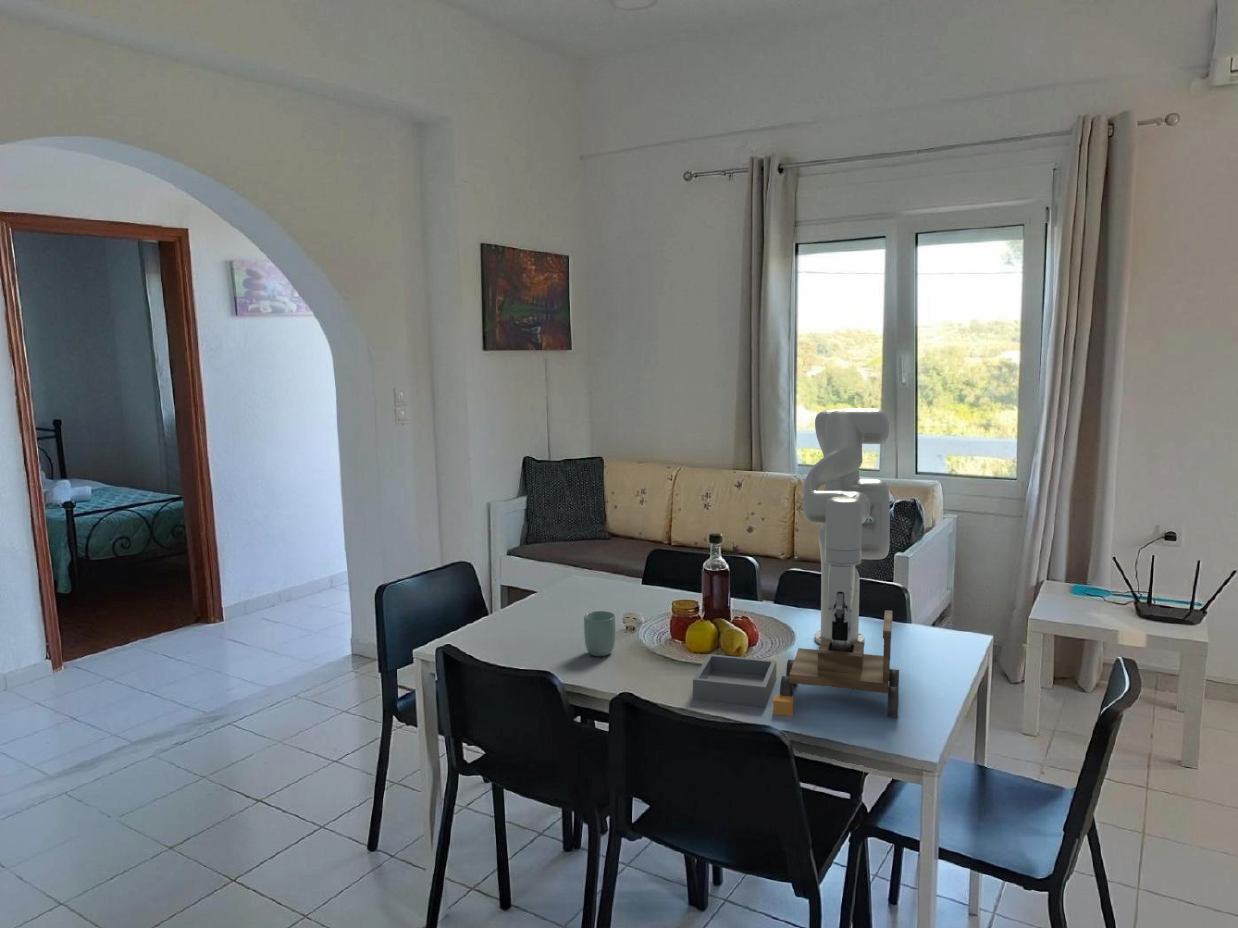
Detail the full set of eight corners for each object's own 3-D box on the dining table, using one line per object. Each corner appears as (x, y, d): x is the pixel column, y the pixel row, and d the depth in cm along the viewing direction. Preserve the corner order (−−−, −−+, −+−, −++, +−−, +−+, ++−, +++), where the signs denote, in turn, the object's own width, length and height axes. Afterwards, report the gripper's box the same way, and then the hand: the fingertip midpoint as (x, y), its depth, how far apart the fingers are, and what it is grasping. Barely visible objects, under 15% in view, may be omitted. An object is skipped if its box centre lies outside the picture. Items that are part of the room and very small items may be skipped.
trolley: (789, 680, 203) (790, 601, 200) (898, 691, 195) (900, 610, 192) (779, 708, 188) (780, 623, 185) (897, 721, 180) (899, 633, 177)
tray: (708, 672, 208) (708, 654, 208) (776, 679, 204) (776, 660, 203) (692, 698, 193) (692, 679, 193) (765, 707, 188) (765, 687, 188)
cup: (595, 646, 228) (594, 609, 226) (621, 651, 224) (620, 613, 222) (579, 655, 221) (578, 617, 219) (605, 661, 217) (604, 622, 215)
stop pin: (832, 660, 193) (833, 607, 191) (851, 662, 191) (852, 609, 190) (830, 667, 189) (831, 613, 187) (849, 669, 188) (850, 615, 186)
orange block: (775, 708, 188) (775, 694, 187) (794, 710, 187) (794, 696, 186) (773, 713, 185) (773, 700, 185) (792, 716, 184) (792, 702, 183)
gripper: (828, 544, 196) (827, 618, 198) (820, 564, 180) (819, 644, 182) (863, 546, 194) (861, 621, 196) (858, 566, 177) (857, 647, 180)
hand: (841, 632), depth 189 cm, fingers open, 9 cm apart
